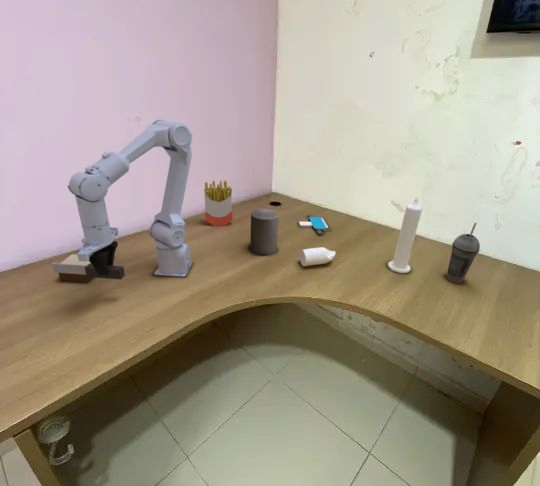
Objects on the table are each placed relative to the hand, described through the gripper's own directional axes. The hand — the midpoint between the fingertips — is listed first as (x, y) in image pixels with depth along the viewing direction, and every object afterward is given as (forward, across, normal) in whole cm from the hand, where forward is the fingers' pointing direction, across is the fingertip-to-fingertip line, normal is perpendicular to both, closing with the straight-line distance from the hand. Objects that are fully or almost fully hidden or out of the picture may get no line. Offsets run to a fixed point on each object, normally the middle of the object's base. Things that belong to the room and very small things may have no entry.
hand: (105, 271), depth 79 cm
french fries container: (+8, -53, +18) cm, 57 cm away
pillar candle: (+8, -33, +39) cm, 52 cm away
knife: (+1, 0, -5) cm, 5 cm away
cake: (+8, -10, -14) cm, 19 cm away
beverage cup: (+8, -21, +101) cm, 103 cm away
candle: (+8, -26, +85) cm, 89 cm away
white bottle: (+8, -25, +58) cm, 64 cm away
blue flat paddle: (+8, -57, +58) cm, 82 cm away
